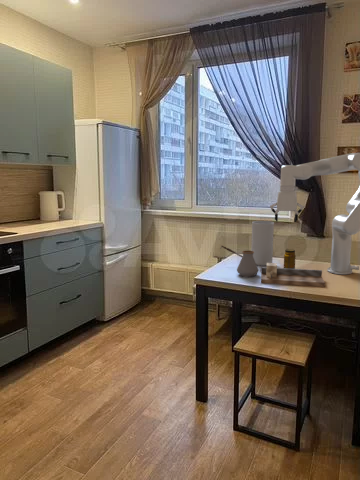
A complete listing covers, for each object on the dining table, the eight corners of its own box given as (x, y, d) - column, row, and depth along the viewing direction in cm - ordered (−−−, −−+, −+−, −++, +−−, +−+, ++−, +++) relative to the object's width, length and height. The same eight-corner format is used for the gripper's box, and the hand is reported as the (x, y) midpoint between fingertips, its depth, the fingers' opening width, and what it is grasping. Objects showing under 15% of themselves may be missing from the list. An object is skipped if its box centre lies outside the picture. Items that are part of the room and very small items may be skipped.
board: (321, 279, 188) (321, 270, 187) (324, 286, 176) (325, 276, 175) (261, 276, 194) (261, 267, 193) (260, 283, 183) (261, 273, 182)
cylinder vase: (249, 264, 218) (250, 223, 214) (253, 260, 230) (254, 220, 225) (270, 266, 214) (272, 224, 209) (273, 261, 225) (275, 221, 220)
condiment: (280, 269, 208) (281, 248, 205) (294, 268, 209) (295, 248, 207) (286, 273, 201) (287, 251, 198) (300, 272, 202) (302, 250, 200)
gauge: (276, 274, 191) (276, 263, 190) (276, 279, 181) (277, 268, 180) (266, 273, 192) (266, 262, 191) (266, 279, 182) (266, 267, 181)
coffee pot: (260, 273, 200) (261, 246, 197) (255, 279, 190) (255, 250, 187) (223, 269, 209) (224, 243, 206) (216, 274, 199) (216, 247, 196)
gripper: (304, 188, 194) (302, 221, 197) (270, 188, 198) (269, 220, 201) (305, 189, 187) (303, 222, 190) (270, 189, 191) (269, 222, 194)
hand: (286, 221), depth 196 cm, fingers open, 9 cm apart
